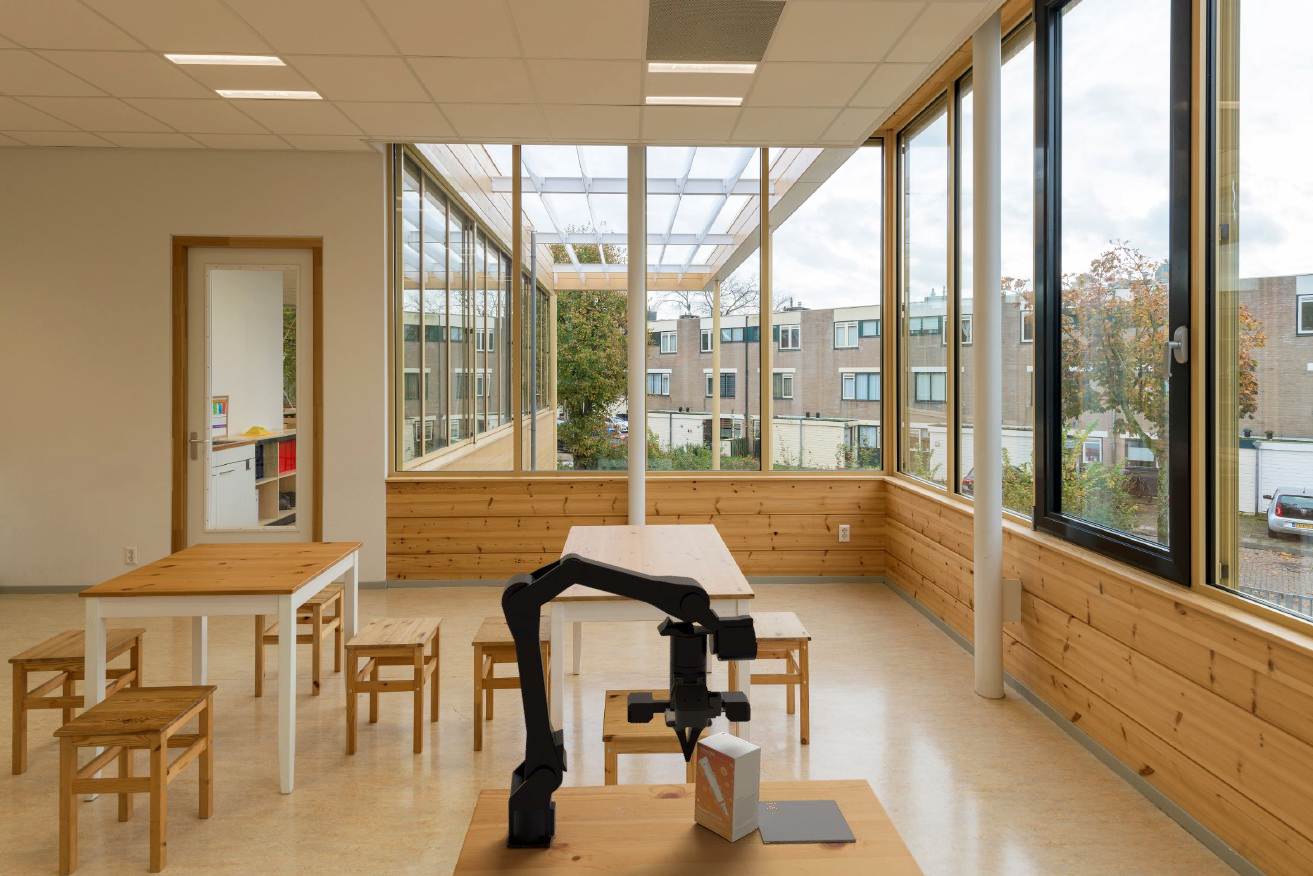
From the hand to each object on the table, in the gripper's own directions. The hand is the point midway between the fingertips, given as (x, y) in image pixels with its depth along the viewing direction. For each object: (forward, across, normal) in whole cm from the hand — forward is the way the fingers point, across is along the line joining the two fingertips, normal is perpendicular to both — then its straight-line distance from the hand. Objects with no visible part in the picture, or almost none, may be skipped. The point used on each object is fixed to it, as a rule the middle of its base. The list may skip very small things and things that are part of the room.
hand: (687, 761), depth 124 cm
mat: (+10, +18, +1) cm, 21 cm away
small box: (+10, +6, 0) cm, 12 cm away
